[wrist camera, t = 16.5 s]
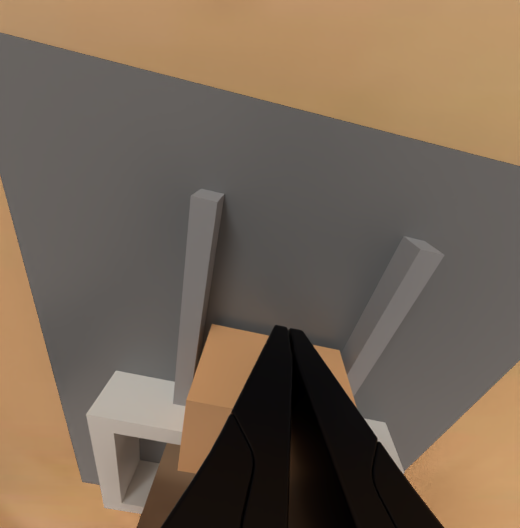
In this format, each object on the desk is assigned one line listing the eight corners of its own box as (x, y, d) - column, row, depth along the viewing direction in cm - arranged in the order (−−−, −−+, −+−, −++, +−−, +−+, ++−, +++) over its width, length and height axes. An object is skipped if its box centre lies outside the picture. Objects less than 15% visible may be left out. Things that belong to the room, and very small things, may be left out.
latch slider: (307, 410, 11) (318, 495, 9) (201, 390, 11) (177, 470, 8) (339, 350, 9) (364, 434, 7) (212, 323, 9) (186, 399, 7)
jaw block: (288, 474, 15) (295, 664, 9) (172, 453, 14) (112, 639, 9) (309, 438, 13) (332, 651, 8) (177, 414, 13) (104, 618, 7)
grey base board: (345, 516, 18) (354, 569, 16) (87, 473, 17) (59, 522, 15) (653, 203, 7) (823, 232, 5) (-19, 29, 6) (-181, -29, 4)
